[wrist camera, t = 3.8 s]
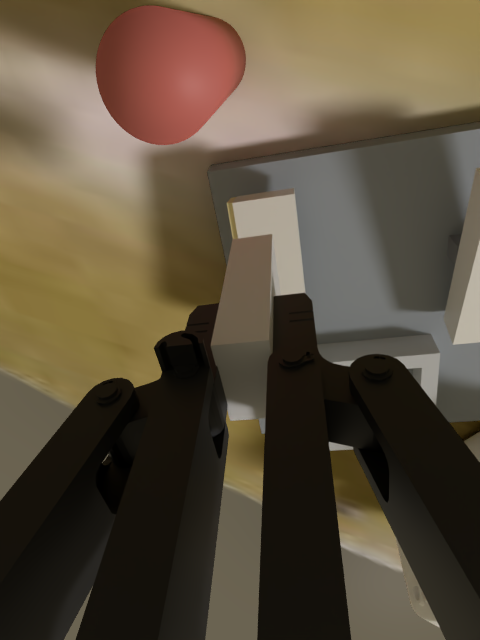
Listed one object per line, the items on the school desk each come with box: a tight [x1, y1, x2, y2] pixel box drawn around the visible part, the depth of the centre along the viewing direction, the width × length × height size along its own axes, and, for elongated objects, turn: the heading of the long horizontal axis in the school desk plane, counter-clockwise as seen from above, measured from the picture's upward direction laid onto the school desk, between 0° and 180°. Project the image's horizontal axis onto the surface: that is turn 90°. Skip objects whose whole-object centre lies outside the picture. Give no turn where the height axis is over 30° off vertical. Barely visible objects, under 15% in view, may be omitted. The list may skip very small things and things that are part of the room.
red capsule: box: [96, 5, 246, 145], centre depth 18 cm, size 4×4×11 cm
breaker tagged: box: [227, 188, 306, 295], centre depth 24 cm, size 10×3×2 cm, turn 9°
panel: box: [207, 122, 480, 451], centre depth 27 cm, size 20×18×4 cm
